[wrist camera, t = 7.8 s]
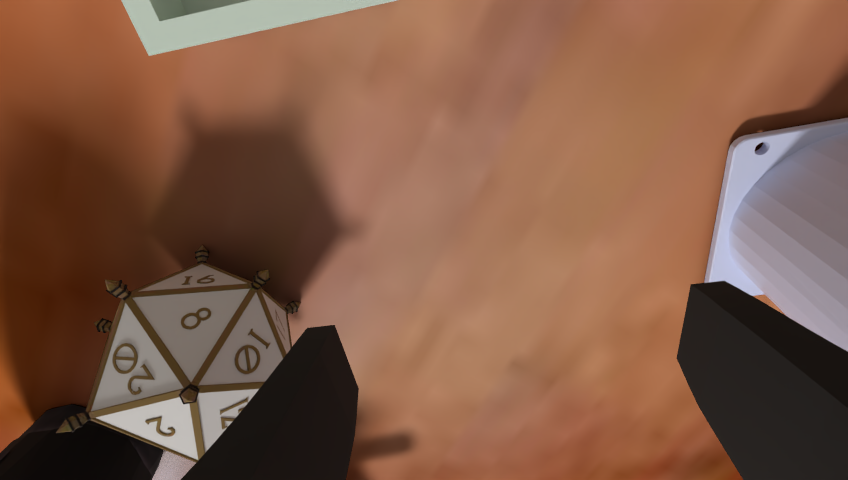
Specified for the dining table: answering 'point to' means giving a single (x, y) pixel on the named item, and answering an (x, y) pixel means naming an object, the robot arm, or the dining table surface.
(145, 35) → the sorting tray
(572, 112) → the dining table surface
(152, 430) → the game die
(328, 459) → the robot arm
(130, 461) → the portable speaker
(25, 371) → the dining table surface
